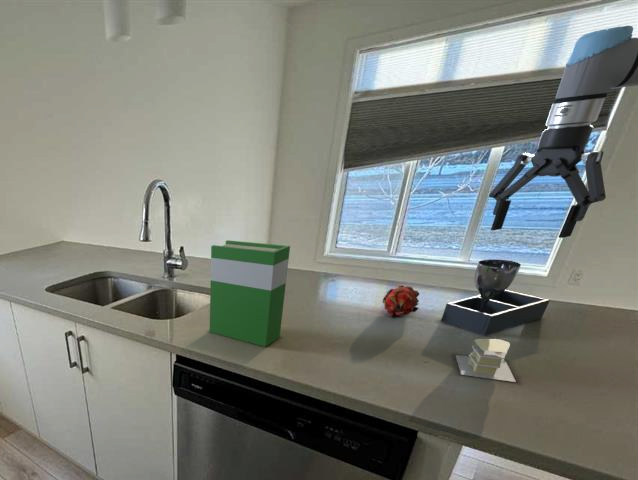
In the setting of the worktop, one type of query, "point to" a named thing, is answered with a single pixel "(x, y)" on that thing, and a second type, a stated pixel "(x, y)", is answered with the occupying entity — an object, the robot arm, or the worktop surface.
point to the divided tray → (494, 312)
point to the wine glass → (494, 278)
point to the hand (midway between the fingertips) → (528, 233)
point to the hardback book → (248, 290)
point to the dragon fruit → (401, 301)
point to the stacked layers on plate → (486, 360)
